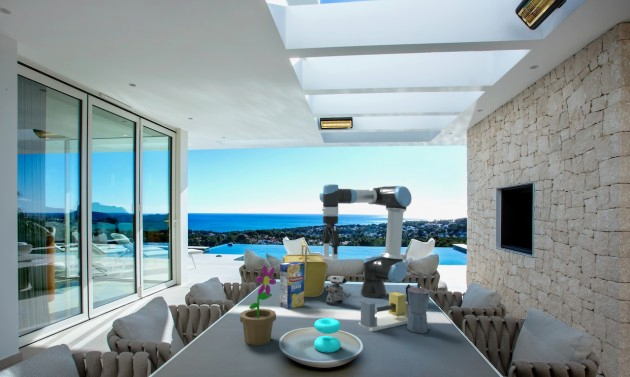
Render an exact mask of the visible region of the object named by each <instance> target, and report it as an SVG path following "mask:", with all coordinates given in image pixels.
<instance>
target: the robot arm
mask: <svg viewBox="0 0 630 377" xmlns="http://www.w3.org/2000/svg"><path fill="white" fill-rule="evenodd" d="M412 198H413V197H412V193H411V191H410V190H409V188H407V187H406V186H403V185H394V186H387V185H386V186H380V187H379V186H378V187H373V188H372V187H370V188H368V189H352V188H339V184H332V183H331V184H324V185H323V188H322V190H321V191H320V193H319V200H320V202H322V203H323V204H322V209H321V211H322V214H323V216H322V223H323V233H322V234H323V235H322V239H321V242H322V243H323V257H325V258H326V257H330V241H331V262H339V258H338V255H339V247H340V244H341V243H340V239H339V233H338V226H337V225H336V224H338V223H339V204H347V205H348V204H349V205H350V204H355V203H358V204H360V203H361V204H364V203H365V204H366V203H367V204H369V205H376V206H385V210H386V211H387V213H388V214H387V223H386V235H385V249H384V254H383V255H381V254H380V255H367V256H364V259H363V282H362V286H361V288H360V295H361V296H362V297H367V298H370V299H371V298H374V299H377V298H385V297H387V289H386V285H385V283H384V282H385V281H388V282H390V283H400V282H402V281H403V280H404V278H405V277H406V275H407V270H408V269H407V265H406V263H405V262H403V261H404V257H402V256H401V253H402V252H401V249H402V241H403V240H402V237H403V222H404V213H405V212H406V211H407V207H409V206H410V205H411V204H412V200H413V199H412Z"/></svg>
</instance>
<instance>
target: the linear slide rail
mask: <svg viewBox="0 0 630 377" xmlns="http://www.w3.org/2000/svg"><path fill="white" fill-rule="evenodd" d="M391 309H396V304H393V305H389V304H388V305H387V304H386V305H383V306H377V307H376V303H374V302H372V301H370V300H367V299H365V300H361V301H360V321H359V322H358V326H360V327H362V328H364V329H365V330H368V331H371V332H375V331H380V330H385V329H389V328H394V327H397V326H401V325H407V324H408V318H409V311H410V307H409V305H408V301H406V315H404V316H399V317H397V316H394V315H392V314H391V315H389V316H388V315H387V316H383V317H379V318H378V317H377V316H376V314H377V313H380V312H386V311H389V310H391Z"/></svg>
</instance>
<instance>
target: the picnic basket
mask: <svg viewBox="0 0 630 377" xmlns="http://www.w3.org/2000/svg"><path fill="white" fill-rule="evenodd" d="M300 246H301V247H300V248H301V249H300V250H301V254H284V255H283V257H282V259H281V261H282V264H283V263H291V262H300V263H304V298H306V297H307V298H308V297H310V298H311V297H313V298H314V297H319V296H321V295H322V294H323V292H324V289H325V283H326V279H327V274H328V268H329V267H328V266H329V265H328V263H327V262H326V260H324V258H323V256H322V255H320V254H316V253H315V254H314V253H313V254H308V245H307V243H306V242H305V241H304V239H302V240H301V245H300Z"/></svg>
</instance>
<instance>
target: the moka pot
mask: <svg viewBox="0 0 630 377" xmlns="http://www.w3.org/2000/svg"><path fill="white" fill-rule="evenodd" d="M421 285H422V284H421V283H417V284H416V286H417V287H416V286H414V285H410V284H407V285H406V286H405V295H406V302H408V305H409V307H410V311H409V318H408V323H407V324H406V325H407V326H406V328H407V330H408V331H410V332H411V333H416V334H425V333H427V332H428V331H429V325H428V315H427V311H428V309H429V303H430V296H431V290H429V289H428V288H425V287H421Z"/></svg>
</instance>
